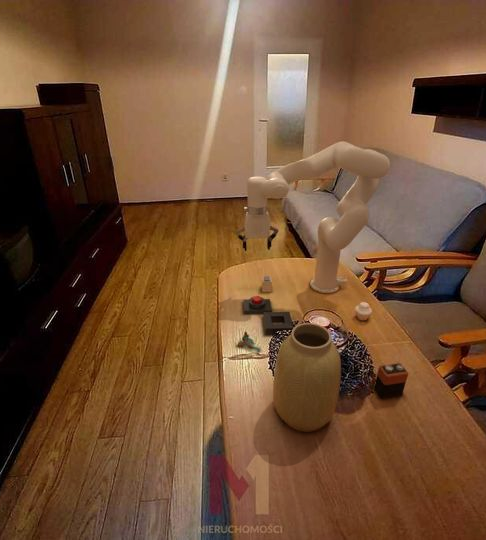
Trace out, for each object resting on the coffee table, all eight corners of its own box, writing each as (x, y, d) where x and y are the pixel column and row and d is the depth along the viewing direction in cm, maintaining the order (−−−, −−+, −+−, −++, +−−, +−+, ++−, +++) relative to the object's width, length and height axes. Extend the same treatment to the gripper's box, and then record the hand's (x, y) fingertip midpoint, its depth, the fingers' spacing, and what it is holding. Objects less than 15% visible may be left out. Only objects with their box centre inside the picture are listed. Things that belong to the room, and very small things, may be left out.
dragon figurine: (267, 339, 122) (248, 327, 123) (263, 346, 115) (243, 332, 116) (258, 354, 123) (239, 341, 125) (253, 361, 116) (234, 348, 118)
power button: (261, 299, 141) (261, 295, 140) (261, 304, 138) (262, 300, 137) (252, 299, 141) (252, 295, 140) (252, 304, 138) (252, 300, 137)
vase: (303, 451, 86) (312, 371, 73) (259, 405, 99) (261, 330, 86) (348, 416, 95) (363, 339, 82) (303, 378, 107) (310, 306, 94)
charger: (270, 287, 155) (271, 275, 152) (271, 291, 151) (272, 280, 148) (261, 287, 155) (262, 275, 152) (262, 292, 151) (262, 280, 148)
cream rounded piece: (355, 322, 131) (358, 307, 128) (351, 313, 137) (354, 298, 133) (372, 322, 131) (375, 307, 128) (367, 313, 136) (370, 298, 133)
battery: (373, 387, 104) (379, 362, 99) (394, 384, 105) (401, 359, 100) (380, 399, 100) (387, 374, 95) (402, 396, 101) (410, 370, 96)
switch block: (269, 302, 144) (270, 295, 142) (271, 313, 137) (271, 306, 135) (243, 302, 144) (243, 295, 142) (243, 314, 137) (243, 306, 135)
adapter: (289, 317, 135) (289, 311, 133) (292, 334, 126) (293, 327, 124) (263, 318, 135) (263, 312, 133) (265, 335, 126) (265, 328, 124)
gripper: (235, 213, 132) (236, 254, 140) (280, 211, 133) (279, 252, 141) (234, 207, 138) (235, 246, 147) (277, 205, 139) (276, 244, 148)
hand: (256, 249), depth 144 cm, fingers open, 9 cm apart
